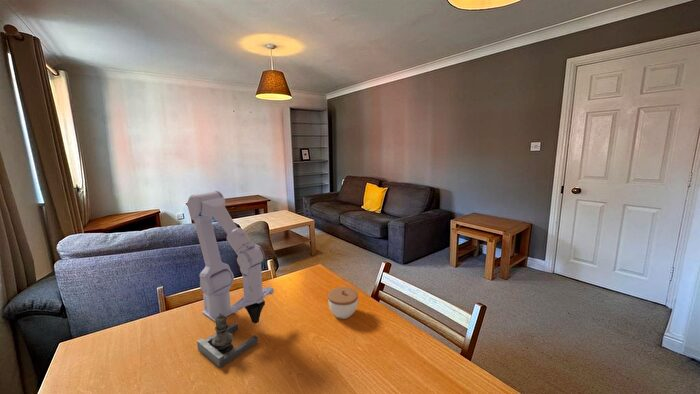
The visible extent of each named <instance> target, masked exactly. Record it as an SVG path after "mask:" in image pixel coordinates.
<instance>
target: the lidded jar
mask: <svg viewBox="0 0 700 394" xmlns="http://www.w3.org/2000/svg"><path fill="white" fill-rule="evenodd" d="M327 299H328V300H327V302H328V307H329V310H330V312H331V313H332V314H333V315H334V316H335V317H336V318H338V319H340V320H345V319H348V318H350V317H352V315H353V314H354V313H355V312H356V310H357V306H358V304H359V303H358V300H359V293H358V291H357V290H356V289H354V288H352V287H350V286H349V287H348V286H339V287H335V288H332V289H331V290H330V291H329V292H328V293H327Z"/></svg>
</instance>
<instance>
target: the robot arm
mask: <svg viewBox="0 0 700 394" xmlns="http://www.w3.org/2000/svg"><path fill="white" fill-rule="evenodd" d="M186 205H187V209H188V214H189V217H190V219H191V220H192V221H194V225H195V229H196V233H197V237H198V242H199V245H200V249H201V253H202V256H203V261H204V264H205V265H204V266H205V267H204V268H203V269H202V270H201V272H200V273H199V287H200V290H201V291H202V293H203V294H202V297H203V298H202V299H203V308H204V310H202V311H201V313H202V314H203V315H205V316H206V317H207V318H209V319H211V320H212V321H213V322H214V323H216V321H215V319H216V317H217V316H219V314H220V313H221V314H222V315H224V316H226V317H229V316H230V315H232V314H237V313H238V312H239V311H240V310H242V309H245V310H246V312H247V313H248V315H249V319H250V321H251V323H253V324H254V325H255V324H258V323H259V322H260V318H261V314H262V311H263V308H264V307H265V304H266V301H265V300H264V299H265V298H266V297H267V296H269V295H273V294H274V293H275V292H274V290H275V289H274V288H273V287H272V286H268V287H265V288H263V278H262V262H263V261H265V252H264V250H263V247H262V246H260V245H259V244H256V242H252V239H250V237H249V235H248V234H247V233H246V232H245V230H244V229H243V228H241V227H237V225H236V224H235V222H234V219H233V218H232V216H231V215H230V213H229V211H228V209H227V208H226V199H225V198H224V195H223V193H221V191H219V190H214V191H211V192H205V193H204V192H203V193H198V194H191V195H190V196H189V198H188V200H187V202H186ZM212 218H214V220H215V221H216V222H217V223H218V225H219V226H220V227H221V229H223V230H224V232H225V233H226V238H225V239H226V240H227V242H228V243H229V245H230V246H231V248H232V250H233V251H234V252H235V254H236V255H237V257H236V262H237V265H238V267H239V271H240V273H241V274H242V286H243V290H242V291H243V296H242V297H241V298H240V299H239V300H238V301H237V302H235V303H233V304H232V305H231V294H230V289H231V288H232V284H234V281H235V276H234V273H233V271H232V270H231V267H230V265H229V264H228V263H225V262H223V261H222V257H221V253H220V250H219V245H218V242H217V238H216V234H215V229H214V227H213V222H212Z"/></svg>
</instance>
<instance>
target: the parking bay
mask: <svg viewBox="0 0 700 394" xmlns="http://www.w3.org/2000/svg"><path fill="white" fill-rule="evenodd" d="M227 331H228V332H229V333H231V334H234V333H236V332H237V331H239V324H238V323H237V322H234V323H232V324H230V325H228V328H227ZM216 335H217V334H216V333H214V334H213V335H210V336H208V337H207V338H205V339H204V338H203V337H201V338H199V339H197V340H196V344H197V350H198V351H199V352H200V353H201V354H203V356H205V357H206V358H207V359H208V360H209V361H211V362H212V364H214V365H215V366H217V368H219V369H221V368H224V366H225V365H227V364H229V363H230V362H231V361H233V360H235V359H236V358H238V357H239V356H240V355H242V354H244V353H245V352H247V351H248V350H250V349H251V348H253V347H255V345H257V344H258V343H259V337H258V336H257V335H253V336H251V337H249V338H248V339H246V340H245V341H243V342H242V343H240V344H238V345H237V346H235V347H233V349H232V350H231V351H229V352H227V353H226V354H224V355H223V354H221V353H220V352H219V351H218V350H216V349H215V347H214V345H213V344H212V339H213V338H214V337H215V336H216Z"/></svg>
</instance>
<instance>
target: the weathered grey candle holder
mask: <svg viewBox="0 0 700 394" xmlns="http://www.w3.org/2000/svg"><path fill="white" fill-rule="evenodd" d="M215 321H216V322H215ZM215 321H214V322H215V328H214V330H215V334H217V335H216V336H215V337H214V338H213V339H212V344H213V345H212V346H213V347H214V348H215V349H216V350H218V351H219V352H220V353H221V354H223V355H224V354H226V353H227V352H229V351H231V350H232V349H234V345H233V344H232V342H233V339H234V335H233V334H234V333H232V334H231V333H229V332H228V331H227V328H228V326H229V324H228V323H227V316H224V315H222V314H221V313H220V314H219V316H217V317H216V319H215Z"/></svg>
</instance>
